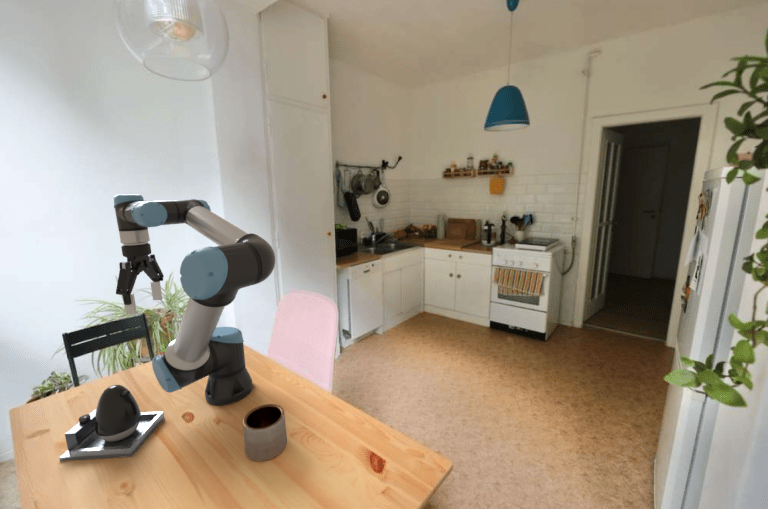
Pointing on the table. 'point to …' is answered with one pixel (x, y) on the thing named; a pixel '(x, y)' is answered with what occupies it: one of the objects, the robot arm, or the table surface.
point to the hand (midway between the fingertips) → (145, 306)
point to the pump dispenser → (116, 414)
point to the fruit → (163, 351)
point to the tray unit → (92, 446)
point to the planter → (264, 432)
